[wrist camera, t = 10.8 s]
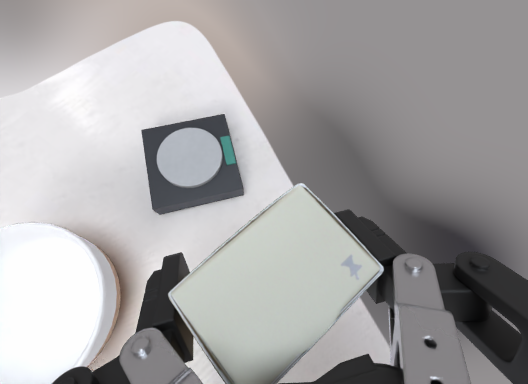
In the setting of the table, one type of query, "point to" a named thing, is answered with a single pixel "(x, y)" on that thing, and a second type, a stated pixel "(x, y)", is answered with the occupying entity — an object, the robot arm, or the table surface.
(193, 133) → the scale
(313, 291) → the cosmetic box
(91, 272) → the bowl
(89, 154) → the table surface
